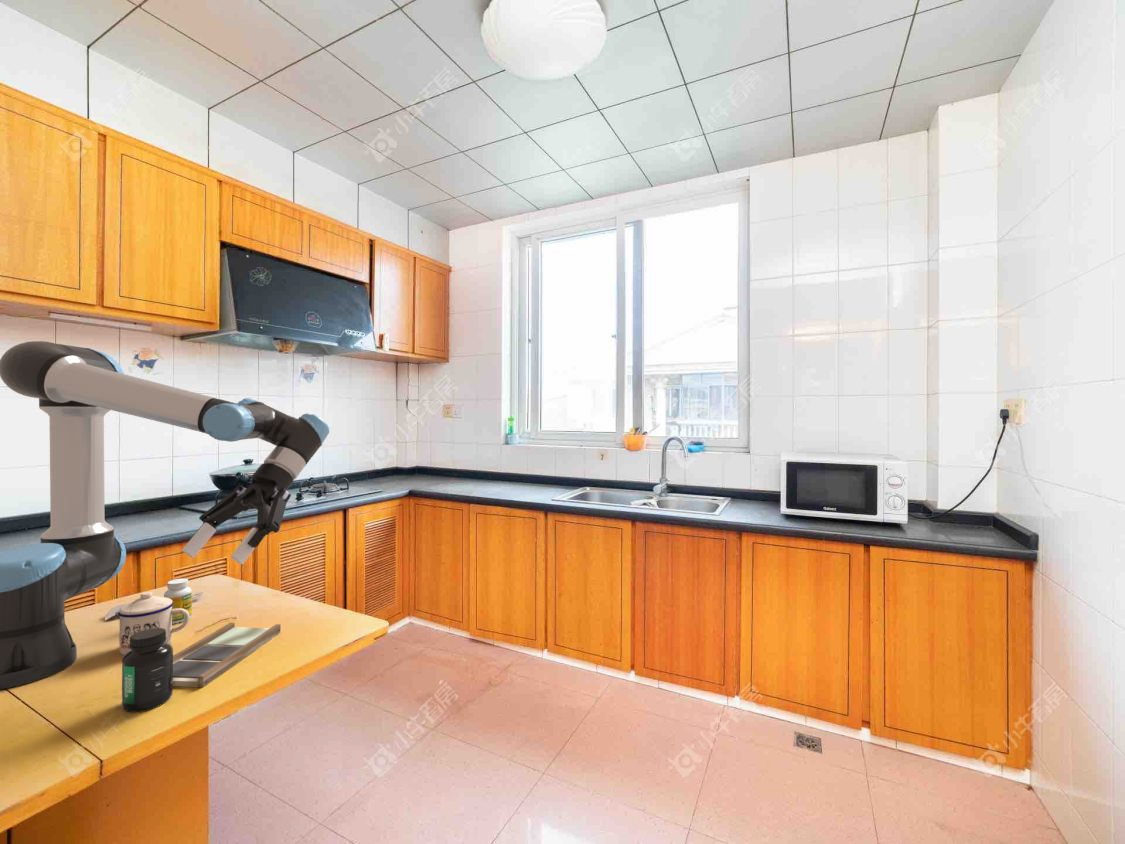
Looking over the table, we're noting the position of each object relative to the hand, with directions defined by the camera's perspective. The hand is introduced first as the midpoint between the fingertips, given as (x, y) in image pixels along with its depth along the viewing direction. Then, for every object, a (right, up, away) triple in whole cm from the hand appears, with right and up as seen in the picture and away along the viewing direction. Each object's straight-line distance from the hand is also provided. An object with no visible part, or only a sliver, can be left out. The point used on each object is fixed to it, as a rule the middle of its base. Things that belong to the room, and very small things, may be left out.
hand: (211, 557), depth 96 cm
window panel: (-3, -22, +7) cm, 24 cm away
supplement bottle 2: (-26, -22, +24) cm, 42 cm away
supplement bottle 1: (-4, -23, -10) cm, 25 cm away
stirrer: (-37, -22, +31) cm, 53 cm away
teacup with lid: (-20, -22, +11) cm, 32 cm away
